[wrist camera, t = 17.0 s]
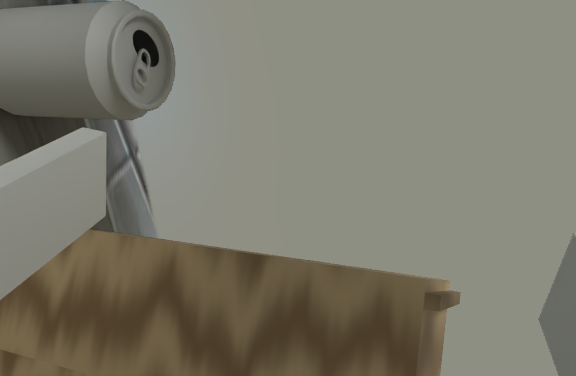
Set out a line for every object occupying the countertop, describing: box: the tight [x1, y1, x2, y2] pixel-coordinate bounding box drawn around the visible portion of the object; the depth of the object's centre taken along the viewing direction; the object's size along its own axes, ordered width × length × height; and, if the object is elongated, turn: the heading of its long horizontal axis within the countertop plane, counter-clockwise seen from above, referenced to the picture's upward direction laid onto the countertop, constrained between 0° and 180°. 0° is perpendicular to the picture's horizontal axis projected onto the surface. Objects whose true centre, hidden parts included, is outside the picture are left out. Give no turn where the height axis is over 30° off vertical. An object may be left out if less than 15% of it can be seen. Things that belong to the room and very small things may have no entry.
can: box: [0, 0, 175, 120], centre depth 36 cm, size 8×8×12 cm
